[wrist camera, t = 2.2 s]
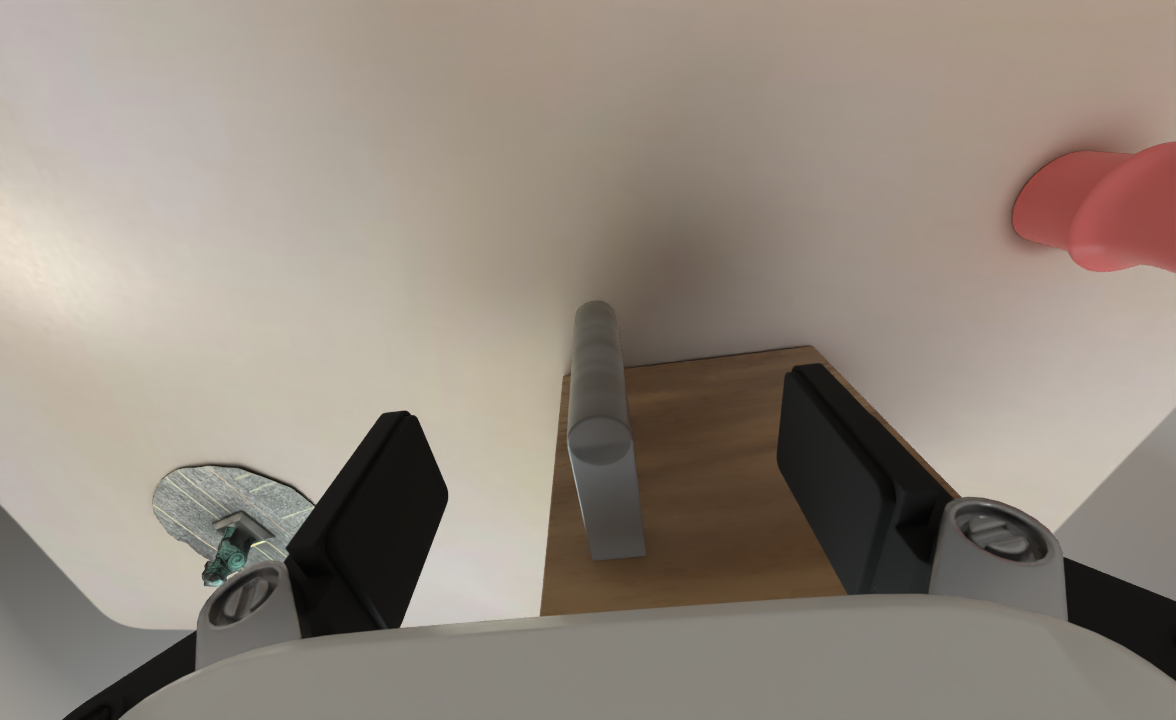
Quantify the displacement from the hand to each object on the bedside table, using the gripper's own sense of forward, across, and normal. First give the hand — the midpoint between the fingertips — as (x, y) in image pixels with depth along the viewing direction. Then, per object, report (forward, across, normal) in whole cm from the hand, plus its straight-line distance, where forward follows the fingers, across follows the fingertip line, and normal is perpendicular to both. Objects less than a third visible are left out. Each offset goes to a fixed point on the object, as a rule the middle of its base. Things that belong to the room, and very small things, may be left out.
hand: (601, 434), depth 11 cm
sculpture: (+12, +28, +15) cm, 34 cm away
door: (+12, -4, +3) cm, 13 cm away
